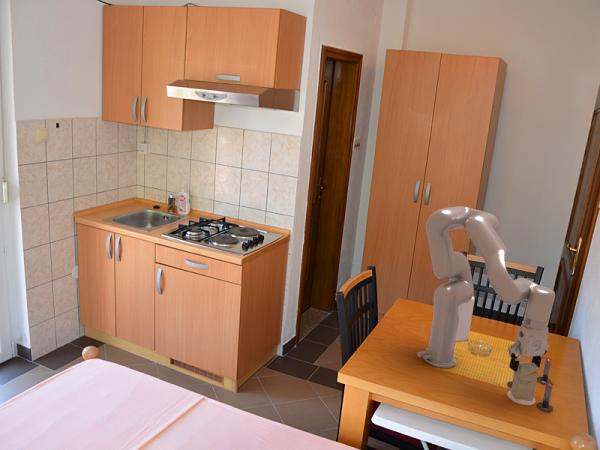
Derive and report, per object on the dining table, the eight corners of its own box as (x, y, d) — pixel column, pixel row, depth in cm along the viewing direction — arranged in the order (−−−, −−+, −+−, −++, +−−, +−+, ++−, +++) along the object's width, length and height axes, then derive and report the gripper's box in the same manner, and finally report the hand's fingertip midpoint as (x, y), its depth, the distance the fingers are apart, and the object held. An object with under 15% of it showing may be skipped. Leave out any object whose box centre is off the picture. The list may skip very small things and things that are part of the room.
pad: (520, 407, 175) (520, 405, 175) (501, 392, 184) (502, 391, 184) (541, 403, 179) (541, 402, 179) (521, 389, 187) (522, 388, 187)
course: (544, 413, 173) (549, 388, 171) (504, 383, 190) (508, 360, 188) (587, 405, 180) (592, 381, 178) (544, 377, 197) (548, 355, 195)
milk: (468, 340, 224) (476, 292, 219) (455, 341, 222) (463, 292, 217) (460, 334, 230) (468, 286, 224) (447, 334, 228) (455, 287, 223)
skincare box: (514, 399, 179) (521, 367, 176) (510, 392, 183) (516, 360, 181) (533, 400, 179) (539, 368, 176) (528, 393, 183) (534, 362, 181)
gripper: (523, 329, 168) (512, 376, 173) (563, 326, 175) (551, 371, 179) (507, 319, 175) (496, 364, 180) (546, 316, 181) (535, 360, 186)
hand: (524, 368), depth 179 cm, fingers open, 9 cm apart
